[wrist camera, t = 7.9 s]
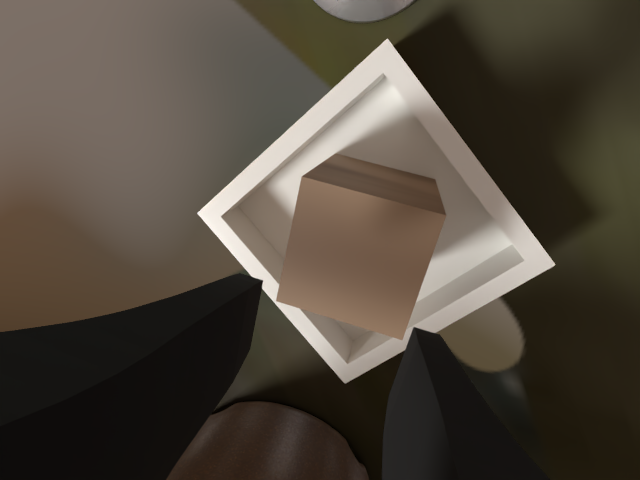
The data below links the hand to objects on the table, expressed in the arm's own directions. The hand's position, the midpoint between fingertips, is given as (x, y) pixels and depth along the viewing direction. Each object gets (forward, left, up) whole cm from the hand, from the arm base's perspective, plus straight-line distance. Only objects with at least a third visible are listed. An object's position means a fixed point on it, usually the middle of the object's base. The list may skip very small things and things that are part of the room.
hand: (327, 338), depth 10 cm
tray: (0, 0, -10) cm, 10 cm away
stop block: (0, 0, -10) cm, 10 cm away
